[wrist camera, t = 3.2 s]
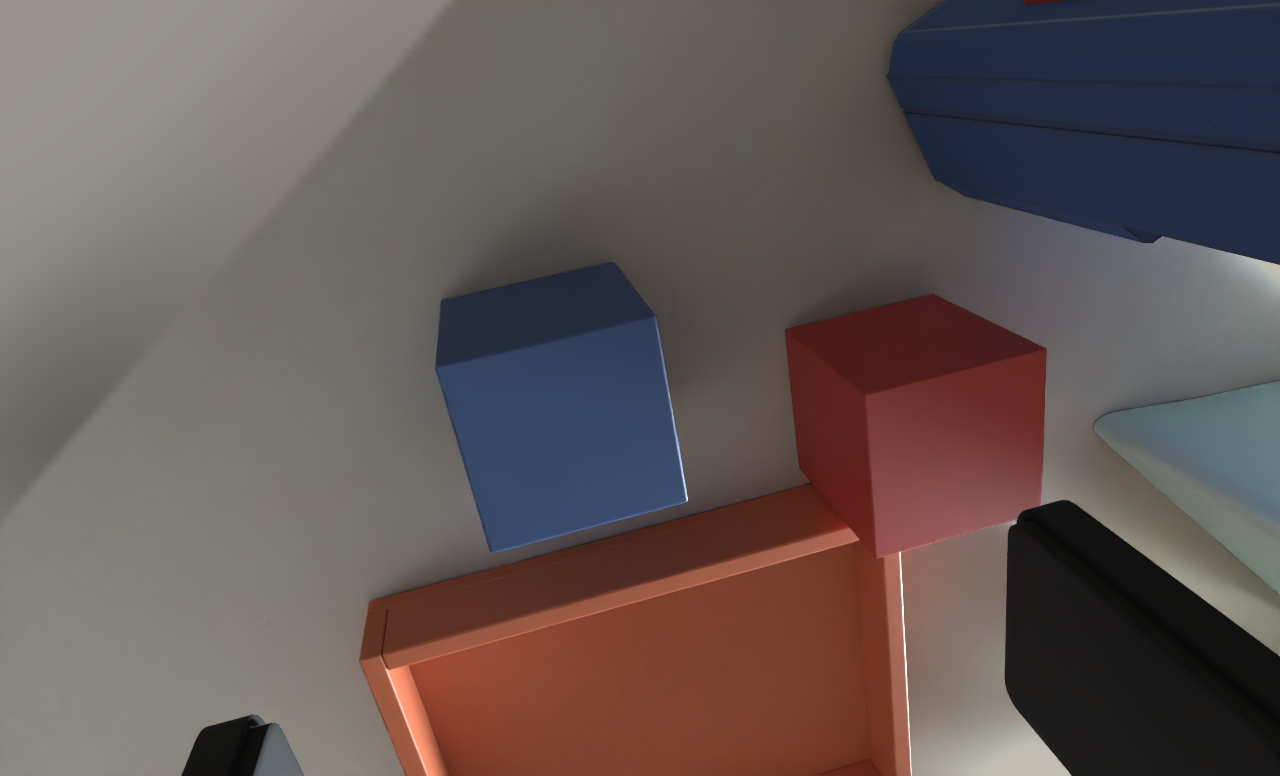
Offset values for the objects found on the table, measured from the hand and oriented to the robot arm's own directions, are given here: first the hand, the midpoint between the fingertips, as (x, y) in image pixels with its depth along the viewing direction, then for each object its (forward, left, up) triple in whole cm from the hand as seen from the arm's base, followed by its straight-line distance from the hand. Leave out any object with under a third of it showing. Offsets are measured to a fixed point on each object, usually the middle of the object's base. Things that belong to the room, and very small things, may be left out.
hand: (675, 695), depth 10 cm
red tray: (+1, -12, -13) cm, 18 cm away
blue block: (0, 0, -13) cm, 13 cm away
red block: (+9, -3, -13) cm, 16 cm away
